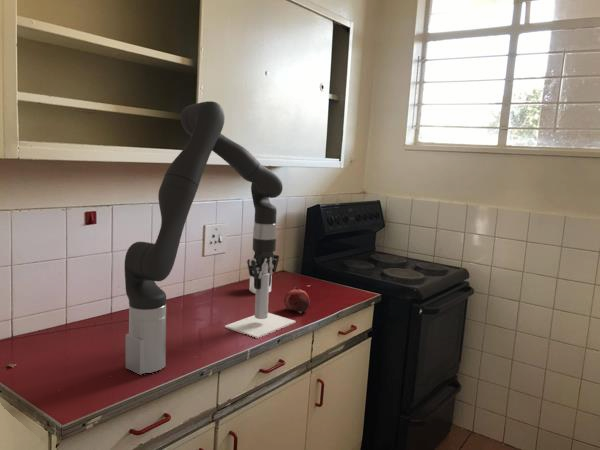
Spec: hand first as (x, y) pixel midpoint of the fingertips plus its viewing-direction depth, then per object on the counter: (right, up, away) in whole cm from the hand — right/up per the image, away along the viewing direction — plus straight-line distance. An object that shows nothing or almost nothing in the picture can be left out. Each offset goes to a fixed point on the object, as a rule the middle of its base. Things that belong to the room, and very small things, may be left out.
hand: (262, 287), depth 166 cm
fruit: (+11, -11, +18) cm, 24 cm away
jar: (-4, -7, +41) cm, 42 cm away
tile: (-1, -13, +2) cm, 13 cm away
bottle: (-1, -10, +2) cm, 10 cm away
